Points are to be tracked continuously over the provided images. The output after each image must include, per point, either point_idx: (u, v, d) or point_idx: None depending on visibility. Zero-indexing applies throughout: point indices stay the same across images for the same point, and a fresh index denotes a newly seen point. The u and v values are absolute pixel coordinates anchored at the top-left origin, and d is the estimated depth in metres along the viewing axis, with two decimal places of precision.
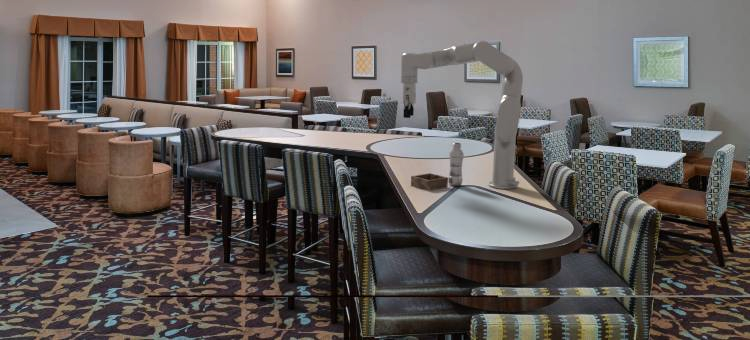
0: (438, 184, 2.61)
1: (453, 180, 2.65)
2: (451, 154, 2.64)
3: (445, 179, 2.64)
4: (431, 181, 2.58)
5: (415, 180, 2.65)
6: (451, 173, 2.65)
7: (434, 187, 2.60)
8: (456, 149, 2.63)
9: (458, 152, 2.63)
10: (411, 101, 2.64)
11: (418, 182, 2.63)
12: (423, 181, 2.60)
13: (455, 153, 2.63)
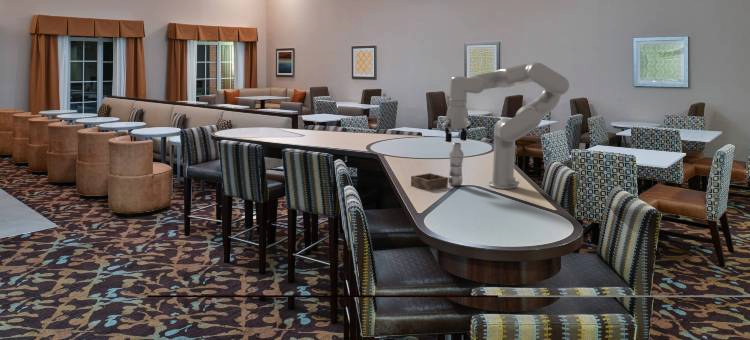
0: (438, 184, 2.61)
1: (453, 180, 2.65)
2: (451, 154, 2.64)
3: (445, 179, 2.64)
4: (431, 181, 2.58)
5: (415, 180, 2.65)
6: (451, 173, 2.65)
7: (434, 187, 2.60)
8: (456, 149, 2.63)
9: (458, 152, 2.63)
10: None
11: (418, 182, 2.63)
12: (423, 181, 2.60)
13: (455, 153, 2.63)
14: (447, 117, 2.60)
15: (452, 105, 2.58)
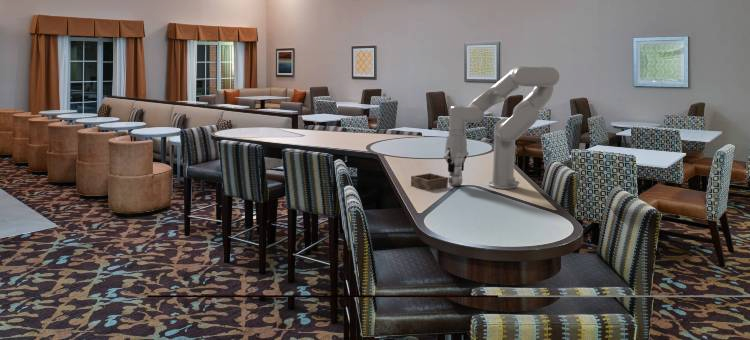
0: (438, 184, 2.61)
1: (453, 180, 2.65)
2: None
3: (445, 179, 2.64)
4: (431, 181, 2.58)
5: (415, 180, 2.65)
6: (451, 173, 2.65)
7: (434, 187, 2.60)
8: None
9: (458, 152, 2.63)
10: None
11: (418, 182, 2.63)
12: (423, 181, 2.60)
13: None
14: (447, 146, 2.62)
15: (451, 134, 2.61)
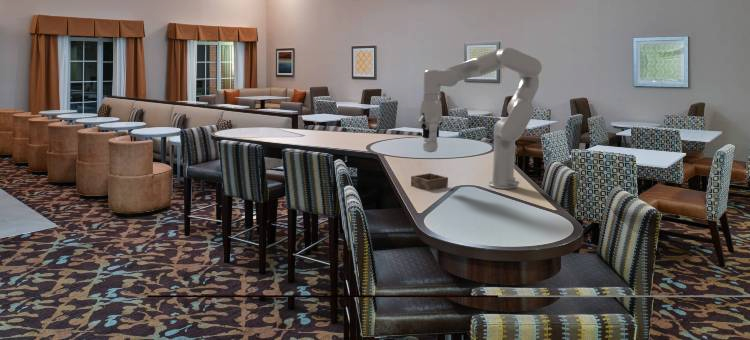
0: (438, 184, 2.61)
1: (427, 146, 2.60)
2: None
3: (445, 179, 2.64)
4: (431, 181, 2.58)
5: (415, 180, 2.65)
6: (426, 139, 2.60)
7: (434, 187, 2.60)
8: None
9: None
10: None
11: (418, 182, 2.63)
12: (423, 181, 2.60)
13: None
14: (421, 111, 2.57)
15: (426, 99, 2.56)
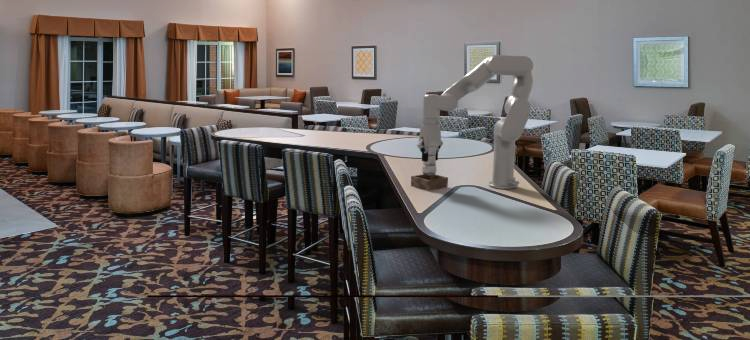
0: (438, 184, 2.61)
1: (426, 169, 2.62)
2: None
3: (445, 179, 2.64)
4: (431, 181, 2.58)
5: (415, 180, 2.65)
6: (425, 162, 2.62)
7: (434, 187, 2.60)
8: None
9: None
10: None
11: (418, 182, 2.63)
12: (423, 181, 2.60)
13: None
14: (420, 135, 2.59)
15: (425, 123, 2.58)
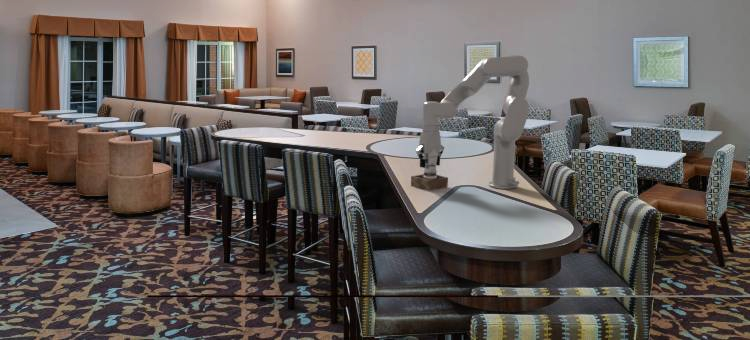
0: (438, 184, 2.61)
1: (427, 179, 2.63)
2: None
3: (445, 179, 2.64)
4: (431, 181, 2.58)
5: (415, 180, 2.65)
6: (425, 173, 2.63)
7: (434, 187, 2.60)
8: None
9: (431, 151, 2.60)
10: None
11: (418, 182, 2.63)
12: (423, 181, 2.60)
13: None
14: (420, 142, 2.60)
15: (425, 130, 2.59)
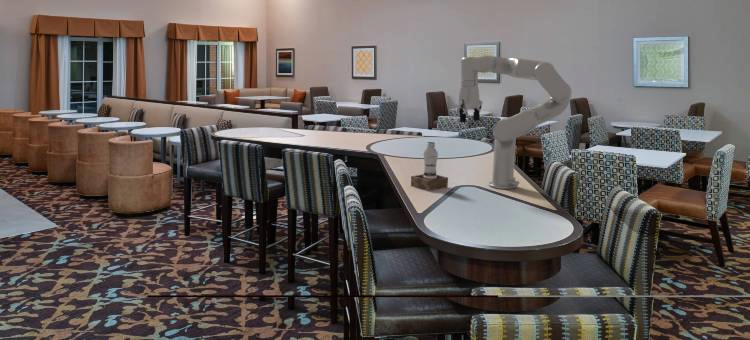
0: (438, 184, 2.61)
1: (427, 179, 2.63)
2: (425, 153, 2.62)
3: (445, 179, 2.64)
4: (431, 181, 2.58)
5: (415, 180, 2.65)
6: (425, 173, 2.64)
7: (434, 187, 2.60)
8: (430, 148, 2.61)
9: (431, 151, 2.61)
10: None
11: (418, 182, 2.63)
12: (423, 181, 2.60)
13: (429, 152, 2.61)
14: (460, 98, 2.63)
15: (464, 85, 2.61)
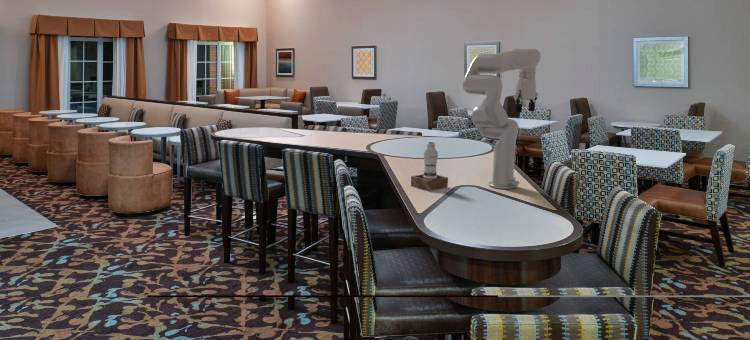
0: (438, 184, 2.61)
1: (427, 179, 2.63)
2: (425, 153, 2.62)
3: (445, 179, 2.64)
4: (431, 181, 2.58)
5: (415, 180, 2.65)
6: (425, 172, 2.64)
7: (434, 187, 2.60)
8: (430, 148, 2.61)
9: (431, 151, 2.61)
10: None
11: (418, 182, 2.63)
12: (423, 181, 2.60)
13: (429, 152, 2.61)
14: (517, 88, 2.73)
15: (522, 77, 2.71)
